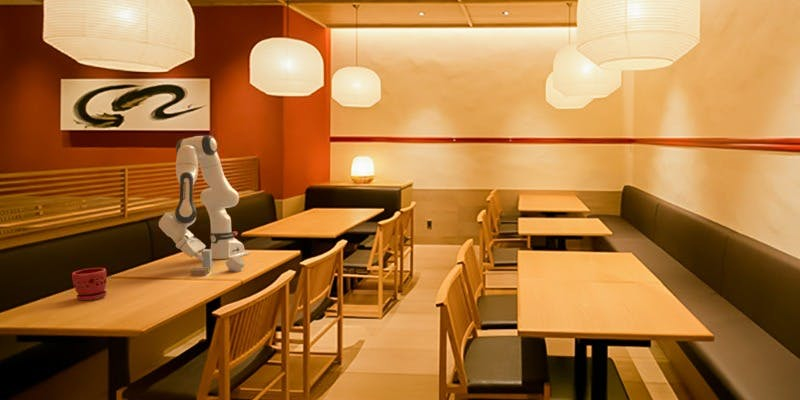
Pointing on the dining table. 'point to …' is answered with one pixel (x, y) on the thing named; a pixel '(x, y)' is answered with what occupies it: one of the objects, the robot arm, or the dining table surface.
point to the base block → (200, 271)
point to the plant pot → (90, 283)
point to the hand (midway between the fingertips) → (205, 258)
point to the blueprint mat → (200, 276)
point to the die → (235, 263)
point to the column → (207, 258)
